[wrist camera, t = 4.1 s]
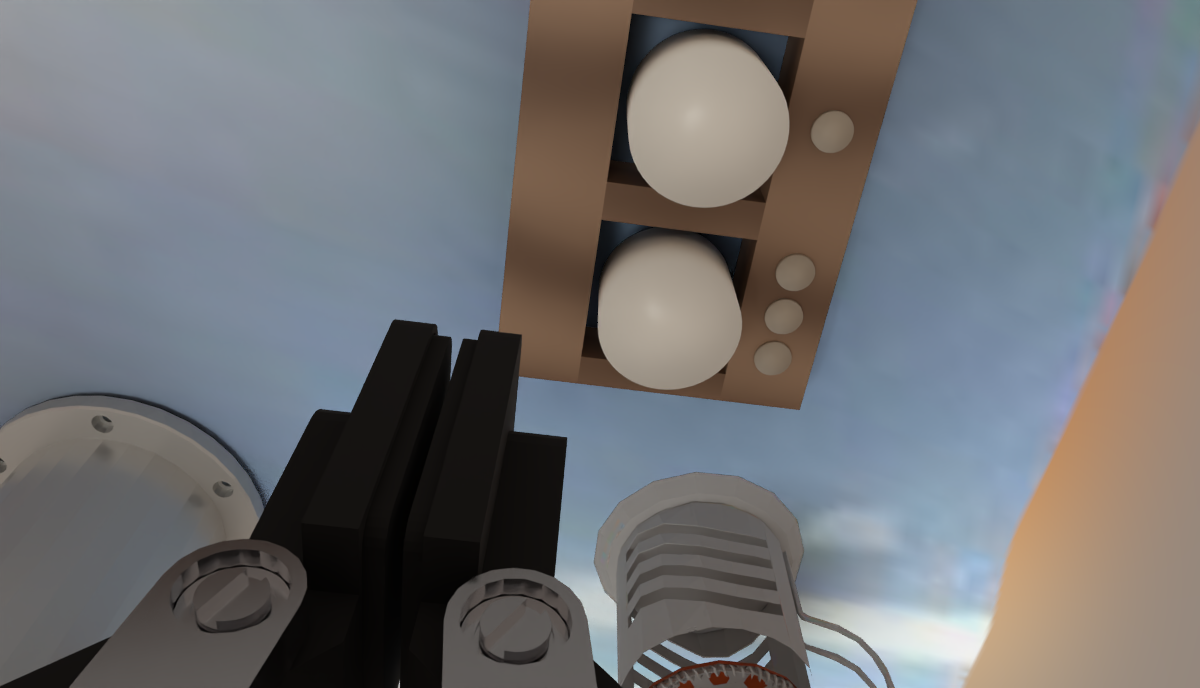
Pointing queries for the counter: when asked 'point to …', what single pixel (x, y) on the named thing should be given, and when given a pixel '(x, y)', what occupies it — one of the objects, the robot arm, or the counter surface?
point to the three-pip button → (667, 309)
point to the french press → (709, 585)
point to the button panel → (619, 193)
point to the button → (705, 119)
